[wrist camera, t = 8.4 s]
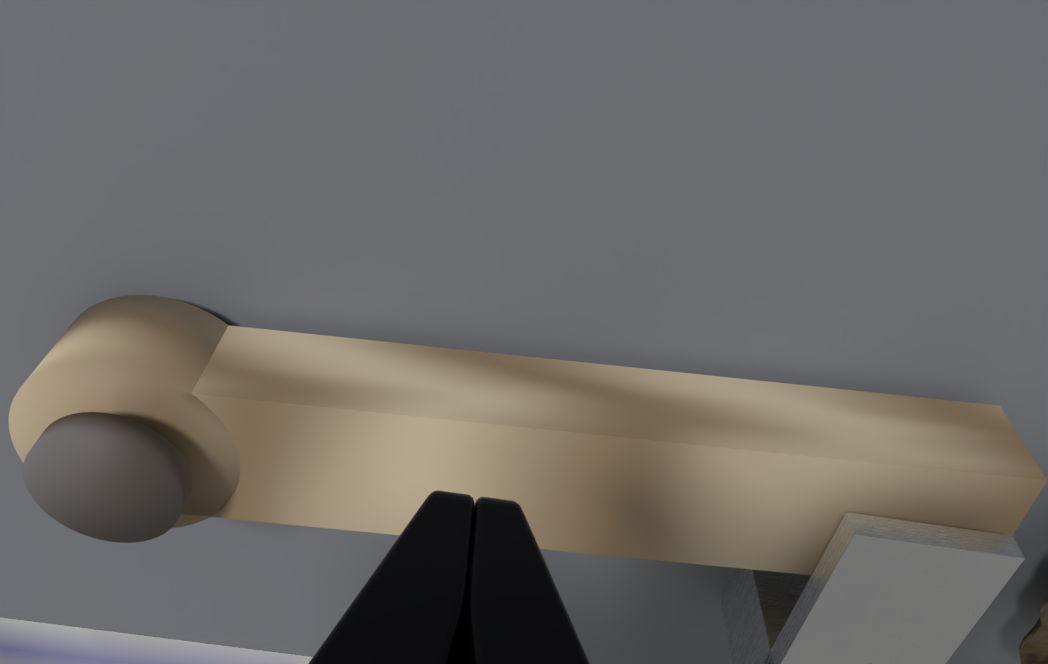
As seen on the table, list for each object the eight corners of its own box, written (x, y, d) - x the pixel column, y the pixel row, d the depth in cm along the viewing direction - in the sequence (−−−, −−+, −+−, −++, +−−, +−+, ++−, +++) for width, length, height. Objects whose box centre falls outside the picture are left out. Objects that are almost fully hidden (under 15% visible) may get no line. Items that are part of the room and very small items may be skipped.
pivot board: (-422, -1036, 9) (-526, -1114, 8) (1916, -472, 10) (2032, -488, 9) (19, 584, 23) (-1, 617, 22) (960, 706, 25) (973, 740, 24)
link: (85, 442, 18) (10, 557, 16) (45, 280, 16) (-52, 386, 13) (929, 525, 19) (986, 649, 16) (1008, 382, 16) (1089, 501, 14)
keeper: (808, 406, 17) (855, 534, 14) (953, 427, 17) (1025, 558, 15) (720, 596, 21) (744, 728, 18) (841, 612, 21) (883, 745, 18)
